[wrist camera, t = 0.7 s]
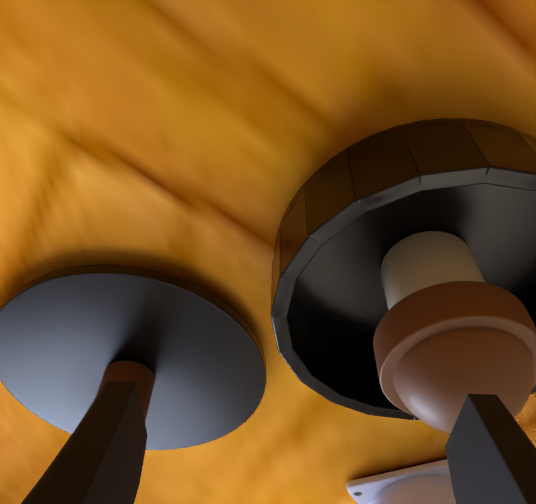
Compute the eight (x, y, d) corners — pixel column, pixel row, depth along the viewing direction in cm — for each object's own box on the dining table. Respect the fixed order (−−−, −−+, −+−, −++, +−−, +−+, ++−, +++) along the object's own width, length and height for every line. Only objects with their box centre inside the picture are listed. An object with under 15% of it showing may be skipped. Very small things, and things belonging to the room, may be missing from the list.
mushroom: (504, 288, 21) (584, 447, 16) (384, 326, 23) (418, 483, 17) (475, 192, 19) (559, 343, 13) (340, 242, 20) (362, 397, 14)
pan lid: (309, 396, 27) (313, 481, 23) (111, 453, 31) (88, 533, 27) (172, 211, 20) (147, 291, 16) (-62, 314, 24) (-124, 397, 20)
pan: (599, 308, 23) (643, 372, 20) (340, 382, 26) (347, 445, 23) (557, 54, 16) (614, 96, 13) (219, 200, 20) (208, 258, 17)
